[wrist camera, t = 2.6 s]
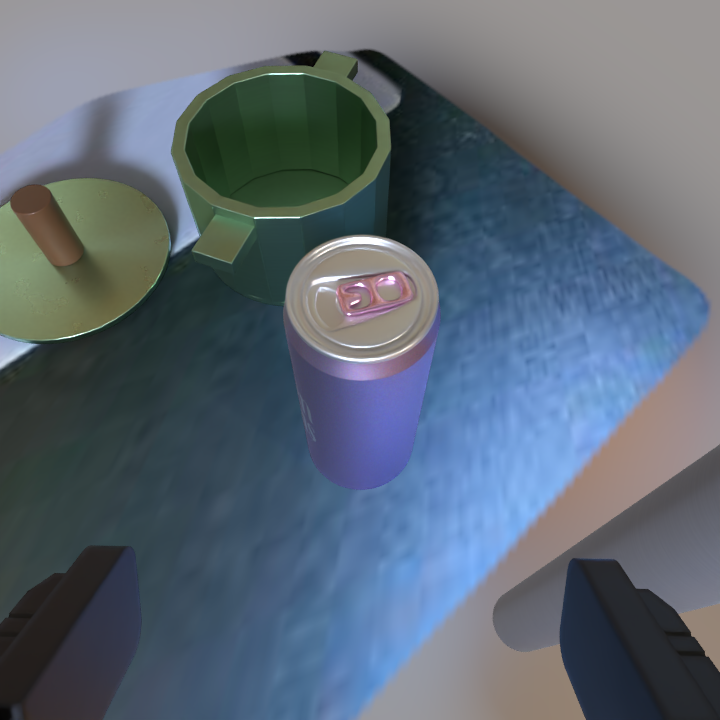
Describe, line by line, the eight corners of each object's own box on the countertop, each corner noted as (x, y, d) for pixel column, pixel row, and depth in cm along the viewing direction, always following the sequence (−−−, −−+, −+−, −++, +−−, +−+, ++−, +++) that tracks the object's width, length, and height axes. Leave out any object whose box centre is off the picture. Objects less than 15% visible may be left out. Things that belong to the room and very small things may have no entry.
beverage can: (425, 477, 34) (468, 341, 21) (323, 506, 33) (300, 383, 20) (394, 385, 37) (414, 215, 24) (298, 410, 36) (264, 248, 23)
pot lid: (208, 219, 43) (187, 152, 38) (103, 377, 37) (60, 324, 32) (47, 168, 46) (6, 99, 40) (-77, 309, 40) (-145, 250, 34)
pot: (421, 169, 46) (433, 67, 38) (328, 365, 38) (320, 284, 30) (269, 127, 48) (252, 22, 41) (150, 303, 40) (103, 214, 32)
